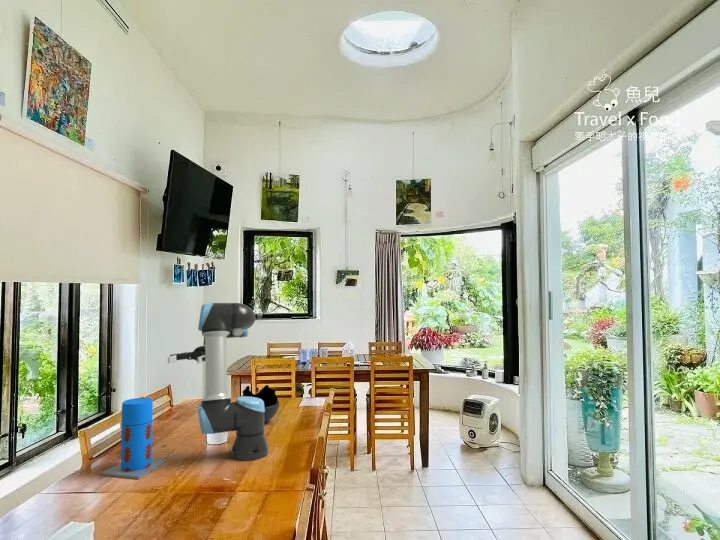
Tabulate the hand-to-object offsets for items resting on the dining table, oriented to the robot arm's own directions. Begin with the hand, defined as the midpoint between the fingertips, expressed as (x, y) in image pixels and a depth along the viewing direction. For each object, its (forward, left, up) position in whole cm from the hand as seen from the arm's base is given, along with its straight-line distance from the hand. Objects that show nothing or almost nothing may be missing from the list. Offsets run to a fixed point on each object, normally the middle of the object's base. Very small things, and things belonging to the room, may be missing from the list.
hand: (183, 360), depth 194 cm
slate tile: (+3, +25, -38) cm, 45 cm away
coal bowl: (-17, -40, -38) cm, 58 cm away
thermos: (+3, +25, -37) cm, 45 cm away
